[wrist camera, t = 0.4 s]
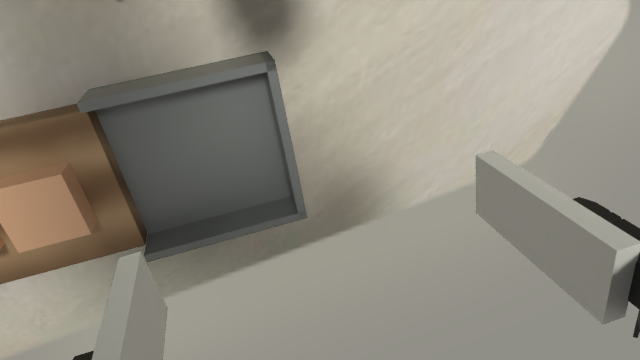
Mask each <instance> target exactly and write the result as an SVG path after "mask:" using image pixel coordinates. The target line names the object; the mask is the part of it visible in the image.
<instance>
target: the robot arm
mask: <svg viewBox="0 0 640 360" xmlns="http://www.w3.org/2000/svg"><path fill="white" fill-rule="evenodd" d="M476 213H477V214H478V215H479V216H480V217H482V218H483V219H484V220H485V221H486V222H487V223H488V224H489V225H490V226H492V227H493V228H494V229H495V230H496V231H497V232H498V233H500V234H501V235H502V236H503V237H504V238H505V239H506V240H507V241H509V242H510V243H511V244H512V245H513V246H514V247H515V248H517V249H518V250H519V251H520V252H521V253H522V254H523V255H525V256H526V257H527V258H528V259H529V260H530V261H531V262H532V263H534V264H535V265H536V266H537V267H538V268H539V269H540V270H541V271H543V272H544V273H545V274H546V275H547V276H548V277H549V278H550V279H552V280H553V281H554V282H555V283H556V284H557V285H558V286H560V287H561V288H562V289H563V290H564V291H565V292H566V293H567V294H568V295H570V296H571V297H572V298H573V299H574V300H575V301H576V302H578V303H579V304H580V305H581V306H582V307H583V308H584V309H585V310H587V311H588V312H589V313H590V314H591V315H592V316H594V317H595V318H596V319H597V320H598V321H599V322H600V323H601V324H602V325H603V324H606V323H609V322H611V321H614V320H617V319H619V318H622V317H625V314H626V310H627V306H628V301H629V302H631V303H632V304H633V305H634V306H636V307H637V308H638V309H639V314H638V317H637V321H636V326H635V330H634V335H633V337H635V338H637V337H638V334H639V332H640V228H638V227H636V226H635V225H633V224H631V223H630V222H628V221H626V220H625V219H621V217H620V216H618V215H616V214H615V213H613V212H612V213H611V212H610V211H609V210H608V209H606V208H604V207H603V206H601V205H599V204H598V203H596V202H593V201H590V200H586V199H583V198H580V197H578V198H575V199H571V198H569V197H568V196H566V195H565V194H563V193H561V192H560V191H558V190H556V189H555V188H553V187H552V186H550V185H548V184H547V183H545V182H544V181H542V180H540V179H539V178H537V177H535V176H534V175H532V174H531V173H529V172H527V171H526V170H524V169H523V168H521V167H520V166H518V165H516V164H515V163H513V162H511V161H510V160H508V159H507V158H505V157H503V156H502V155H500V154H499V153H497V152H495V151H494V150H492V151H488V152H485V153H481V154H478V155H476ZM166 319H167V306H166V304H165V302H164V299H163V297H162V295H161V293H160V291H159V289H158V287H157V284H156V282H155V280H154V278H153V276H152V274H151V272H150V270H149V267H148V265H147V263H146V261H145V259H144V257H143V255H142V253H141V252H137V253H134V254H130V255H127V256H123V257H120V258H119V259H118V263H117V267H116V271H115V274H114V278H113V282H112V285H111V289H110V293H109V297H108V300H107V304H106V308H105V312H104V315H103V319H102V323H101V326H100V330H99V334H98V338H97V342H96V345H95V349H94V351H91V352H88V353H85V354H81V355H78V356H75V357H74V359H73V360H163V353H164V342H165V330H166Z"/></svg>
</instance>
